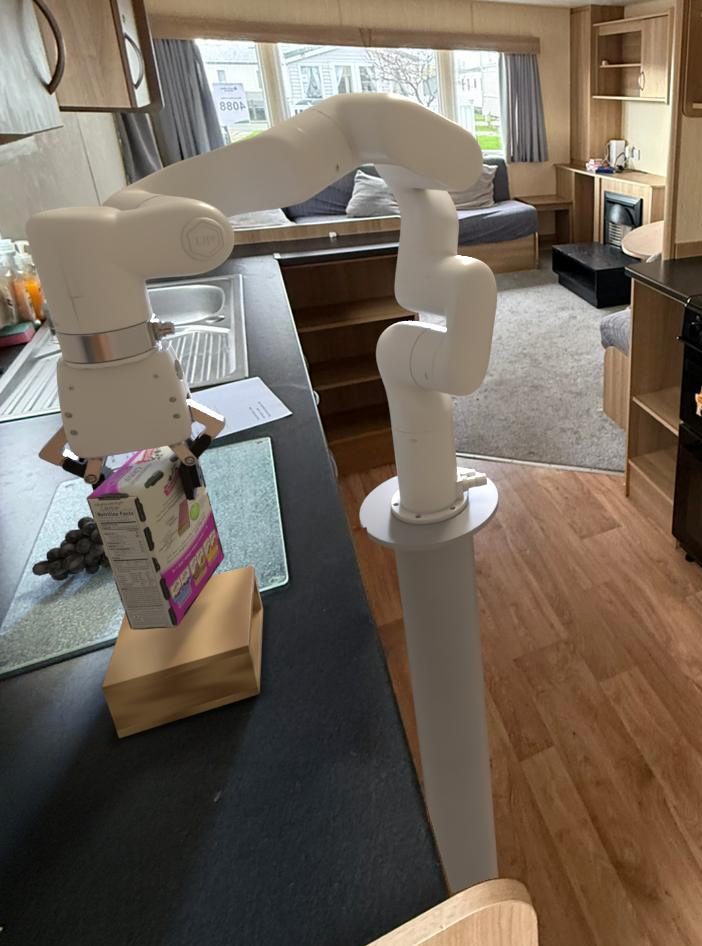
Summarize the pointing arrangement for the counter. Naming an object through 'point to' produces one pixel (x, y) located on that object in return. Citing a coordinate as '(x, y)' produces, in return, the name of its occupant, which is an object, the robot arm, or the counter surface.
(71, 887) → the counter surface
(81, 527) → the fruit
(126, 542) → the candy bar box
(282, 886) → the counter surface
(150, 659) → the wooden block
